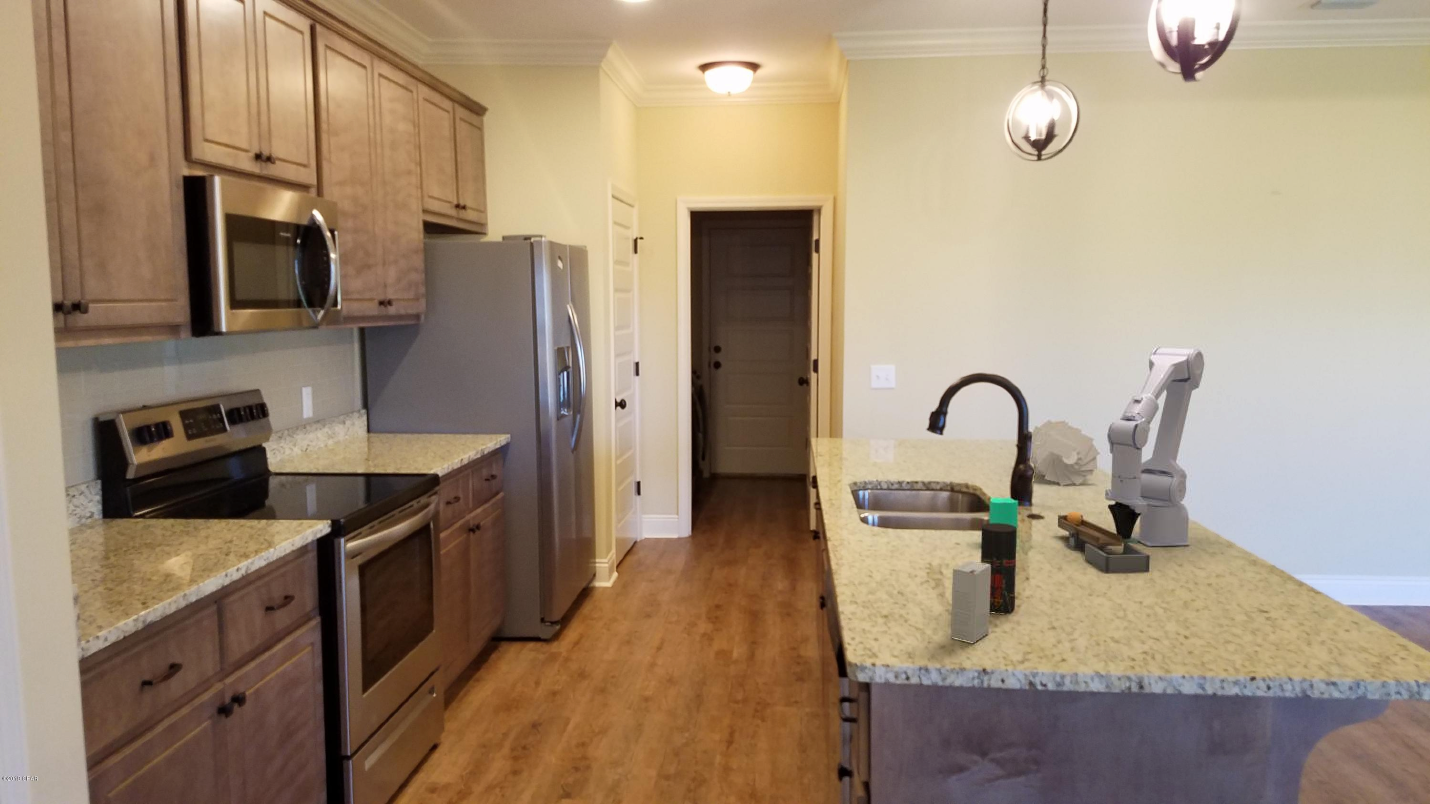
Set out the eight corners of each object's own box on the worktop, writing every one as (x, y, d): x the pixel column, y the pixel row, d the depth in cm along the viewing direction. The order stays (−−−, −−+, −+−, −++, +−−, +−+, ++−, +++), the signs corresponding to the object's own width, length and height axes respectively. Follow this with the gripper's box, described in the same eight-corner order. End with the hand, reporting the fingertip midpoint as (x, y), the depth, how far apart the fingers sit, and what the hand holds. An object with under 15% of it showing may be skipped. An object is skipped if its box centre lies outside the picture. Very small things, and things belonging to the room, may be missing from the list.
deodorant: (976, 602, 165) (978, 523, 164) (1009, 602, 165) (1011, 522, 163) (985, 614, 159) (986, 531, 158) (1019, 614, 159) (1021, 531, 157)
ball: (1077, 522, 209) (1078, 509, 208) (1083, 527, 206) (1084, 514, 205) (1063, 522, 209) (1065, 509, 208) (1069, 527, 206) (1070, 514, 205)
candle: (1018, 549, 199) (1019, 496, 197) (990, 548, 200) (991, 495, 199) (1015, 542, 205) (1016, 490, 203) (987, 541, 206) (988, 490, 204)
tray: (1126, 557, 191) (1127, 542, 191) (1149, 571, 182) (1149, 555, 182) (1084, 558, 191) (1085, 543, 191) (1105, 572, 182) (1105, 556, 181)
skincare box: (965, 628, 153) (966, 559, 151) (990, 634, 150) (992, 563, 149) (949, 639, 148) (950, 567, 147) (975, 645, 145) (976, 572, 144)
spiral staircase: (1063, 484, 284) (1085, 498, 259) (1011, 460, 285) (1028, 471, 261) (1090, 432, 282) (1115, 441, 257) (1037, 408, 283) (1057, 415, 258)
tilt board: (1100, 525, 210) (1100, 514, 209) (1143, 545, 190) (1143, 532, 190) (1057, 526, 209) (1058, 515, 209) (1096, 546, 189) (1096, 533, 189)
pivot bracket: (1102, 544, 202) (1103, 527, 202) (1111, 549, 198) (1112, 532, 197) (1064, 545, 202) (1065, 528, 201) (1073, 550, 198) (1073, 533, 197)
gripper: (1092, 470, 199) (1090, 530, 201) (1124, 483, 185) (1121, 547, 186) (1123, 469, 199) (1121, 529, 201) (1157, 482, 185) (1155, 547, 186)
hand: (1123, 538), depth 193 cm, fingers closed, pressing on tilt board
